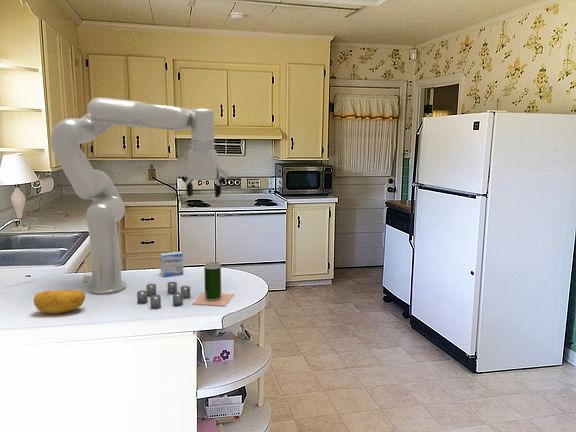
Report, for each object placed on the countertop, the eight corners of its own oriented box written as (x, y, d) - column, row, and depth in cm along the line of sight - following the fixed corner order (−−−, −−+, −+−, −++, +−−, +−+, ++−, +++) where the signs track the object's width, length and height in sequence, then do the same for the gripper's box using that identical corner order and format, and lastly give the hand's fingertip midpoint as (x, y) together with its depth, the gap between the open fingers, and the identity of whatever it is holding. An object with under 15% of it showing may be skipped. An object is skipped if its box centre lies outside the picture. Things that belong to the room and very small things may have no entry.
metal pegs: (130, 307, 154) (130, 297, 153) (153, 289, 171) (152, 280, 170) (177, 310, 152) (176, 300, 151) (195, 292, 168) (194, 282, 168)
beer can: (209, 302, 158) (208, 267, 156) (202, 297, 163) (201, 263, 160) (223, 299, 161) (223, 264, 159) (216, 294, 165) (216, 260, 163)
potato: (82, 315, 147) (81, 293, 146) (31, 318, 145) (29, 295, 143) (87, 306, 154) (86, 285, 153) (39, 309, 152) (37, 287, 150)
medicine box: (163, 277, 185) (162, 255, 183) (160, 274, 189) (159, 252, 187) (183, 275, 188) (183, 253, 187) (180, 271, 192) (179, 250, 191)
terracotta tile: (192, 304, 157) (192, 303, 157) (202, 293, 168) (202, 292, 168) (225, 306, 156) (225, 305, 156) (233, 295, 166) (233, 294, 166)
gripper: (174, 145, 161) (175, 196, 164) (224, 146, 158) (225, 198, 162) (182, 145, 168) (183, 194, 171) (230, 146, 166) (231, 195, 169)
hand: (203, 196), depth 166 cm, fingers open, 9 cm apart
